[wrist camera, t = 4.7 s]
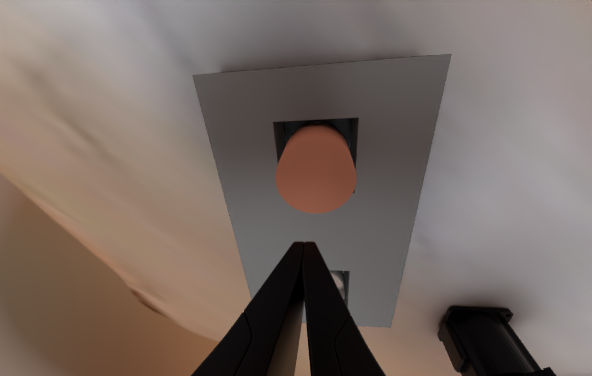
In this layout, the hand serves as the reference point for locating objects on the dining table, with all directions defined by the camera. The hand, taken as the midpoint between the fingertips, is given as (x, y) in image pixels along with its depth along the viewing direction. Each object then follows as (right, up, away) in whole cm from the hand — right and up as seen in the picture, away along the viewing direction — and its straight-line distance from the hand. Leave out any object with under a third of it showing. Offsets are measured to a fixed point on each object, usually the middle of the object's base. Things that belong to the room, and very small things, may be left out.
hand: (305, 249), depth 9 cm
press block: (+2, +1, +13) cm, 13 cm away
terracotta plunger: (+1, +5, +7) cm, 8 cm away
